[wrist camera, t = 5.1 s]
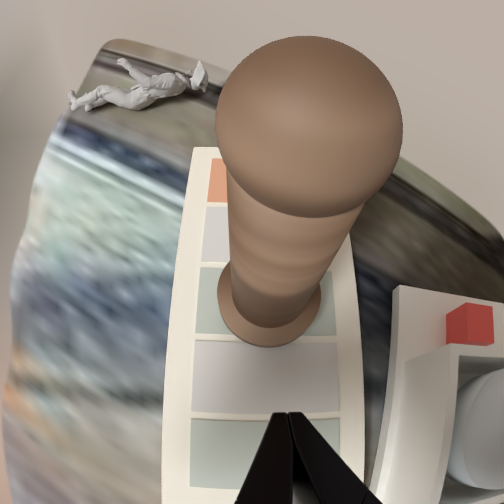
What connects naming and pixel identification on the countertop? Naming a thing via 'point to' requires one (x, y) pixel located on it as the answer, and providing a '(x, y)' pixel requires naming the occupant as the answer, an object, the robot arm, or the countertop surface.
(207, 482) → the game track
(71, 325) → the countertop surface
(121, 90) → the soldier figure
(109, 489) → the countertop surface
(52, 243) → the countertop surface
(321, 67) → the pawn
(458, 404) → the dome
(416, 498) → the base
